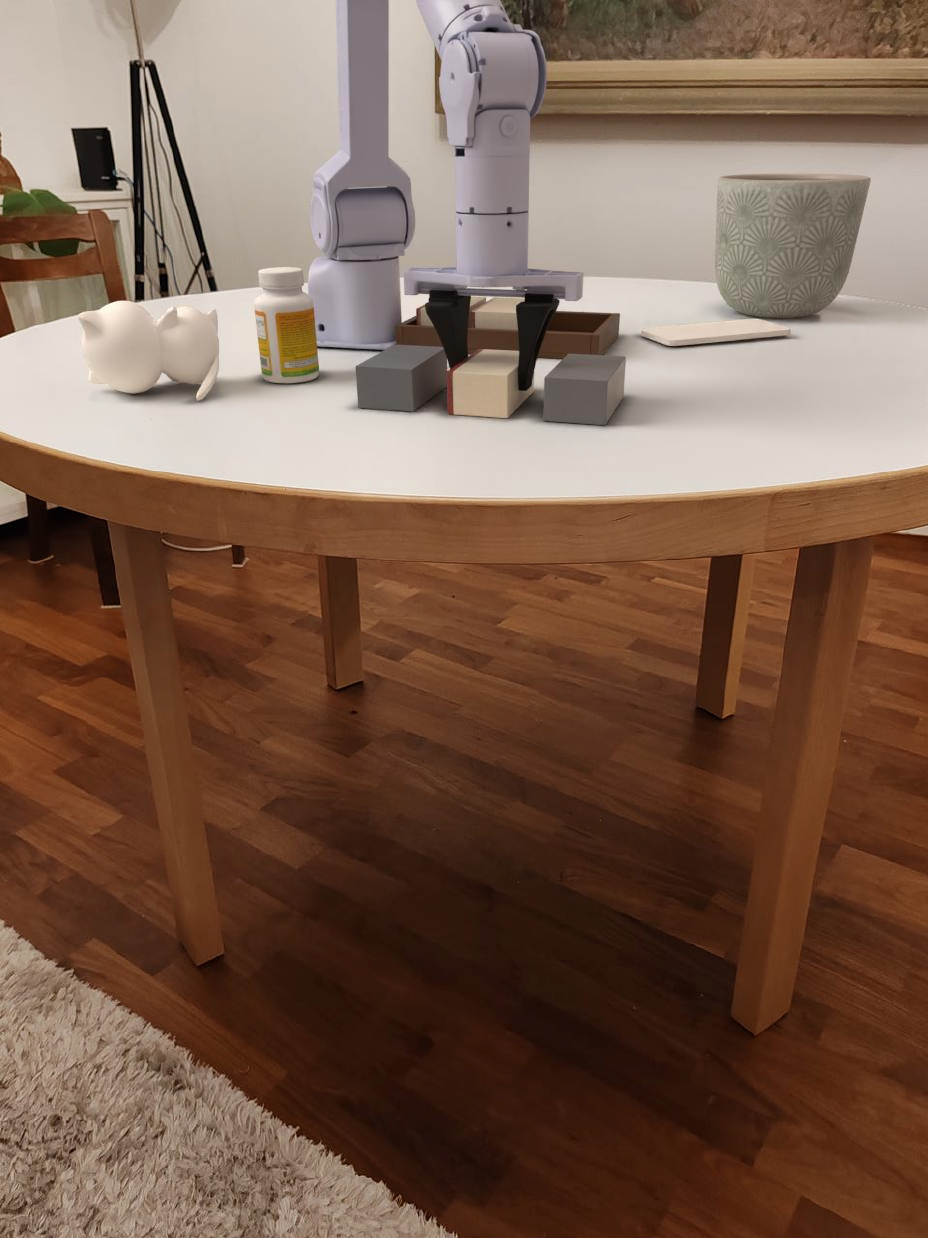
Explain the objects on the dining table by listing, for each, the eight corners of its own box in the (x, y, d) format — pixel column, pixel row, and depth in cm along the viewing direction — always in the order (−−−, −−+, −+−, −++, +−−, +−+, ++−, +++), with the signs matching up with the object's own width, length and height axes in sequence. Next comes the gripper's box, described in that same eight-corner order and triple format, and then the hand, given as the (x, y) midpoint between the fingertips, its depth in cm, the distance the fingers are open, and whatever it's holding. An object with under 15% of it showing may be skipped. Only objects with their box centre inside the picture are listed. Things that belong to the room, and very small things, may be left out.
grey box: (543, 421, 76) (544, 376, 74) (566, 393, 83) (568, 353, 82) (605, 425, 74) (607, 380, 73) (623, 397, 82) (626, 356, 80)
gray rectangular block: (357, 407, 80) (355, 365, 78) (396, 382, 88) (394, 344, 86) (413, 411, 79) (411, 369, 77) (447, 386, 86) (446, 346, 85)
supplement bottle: (329, 373, 91) (321, 266, 87) (303, 386, 87) (293, 274, 82) (279, 369, 93) (269, 264, 89) (251, 382, 89) (238, 272, 84)
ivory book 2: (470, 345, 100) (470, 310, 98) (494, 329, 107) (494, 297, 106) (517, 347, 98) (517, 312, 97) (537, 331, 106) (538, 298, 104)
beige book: (416, 342, 101) (415, 308, 100) (443, 327, 109) (443, 295, 107) (462, 344, 100) (461, 310, 98) (486, 328, 108) (486, 296, 106)
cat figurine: (213, 274, 85) (70, 278, 81) (234, 359, 80) (83, 367, 76) (214, 348, 92) (83, 355, 88) (234, 430, 87) (95, 441, 83)
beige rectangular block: (447, 414, 78) (446, 371, 76) (478, 388, 85) (478, 348, 84) (507, 418, 76) (507, 374, 75) (534, 391, 84) (534, 351, 82)
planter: (735, 297, 128) (749, 172, 121) (865, 308, 119) (888, 174, 112) (682, 316, 116) (694, 178, 108) (822, 330, 107) (846, 181, 100)
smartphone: (638, 328, 105) (756, 317, 109) (637, 335, 106) (755, 324, 109) (670, 340, 99) (794, 328, 103) (669, 348, 99) (793, 336, 103)
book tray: (396, 349, 101) (395, 325, 99) (435, 327, 111) (434, 305, 110) (598, 360, 95) (599, 334, 94) (618, 336, 105) (620, 313, 104)
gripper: (386, 214, 73) (394, 391, 79) (573, 217, 69) (566, 403, 75) (418, 207, 79) (423, 372, 85) (591, 209, 75) (583, 382, 81)
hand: (492, 386), depth 80 cm, fingers closed on beige rectangular block, 5 cm apart
